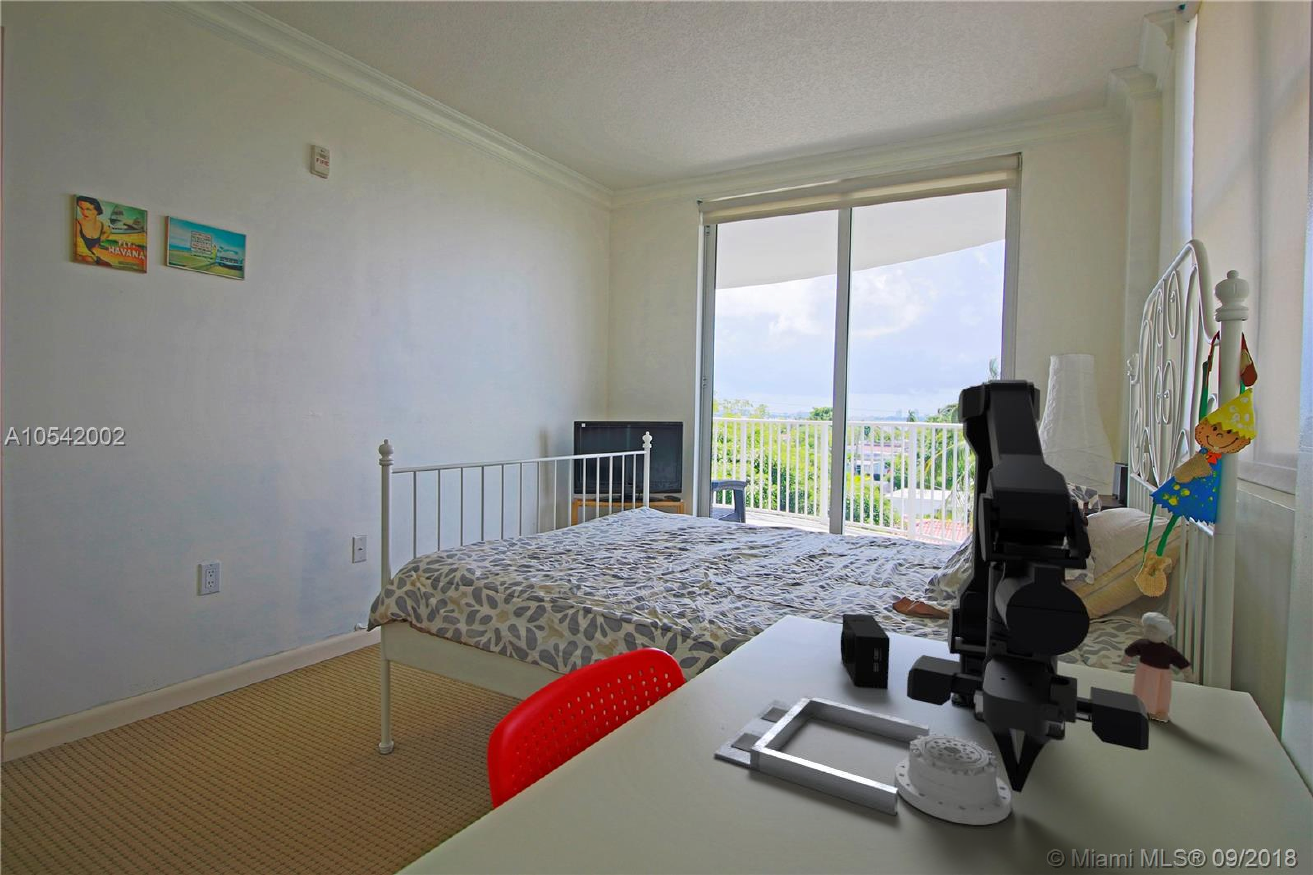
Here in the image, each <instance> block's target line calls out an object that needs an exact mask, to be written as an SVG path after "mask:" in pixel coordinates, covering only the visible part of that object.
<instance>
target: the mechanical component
mask: <svg viewBox="0 0 1313 875" xmlns="http://www.w3.org/2000/svg"><path fill="white" fill-rule="evenodd" d="M996 758H997V757H996V756H994V755H993V754H992V751H990V750H984V749H983V748H982V747H980V746H978V742H976V741H968V740H965V739H962V738H959V736H957V735H954V734H953V735H951V736H950V735H948V734H946V733H942V734H938V733H936V732H934V733H932V734H931V735H929V736H925V737H923V736H921V735H919V736H917V739H916V740H914V741H912V742H910V743H909V754H908V757H906V758H904V759H902V760H901V761H900V762H898V763H897V765H896V767H895V769H894V785H895V788H898V794H899V795H900V796H902V798H903V799H904V800H905V801H907V803H909V804H910V805H912V806H913V807H915V808H917V809H918V810H920V811H922V812H923V813H926V814H928V815H931V816H933V817H936V818H939V819H942V820H945V821H949V822H952V823H958V824H963V825H964V824H966V825H973V826H974V825H975V826H978V825H980V826H981V825H982V826H983V825H989V824H996V823H999V822H1000V821H1003V820H1004V819H1006V818H1007V817H1008V816H1009V815H1010V813H1011V811H1012V793H1011V792H1010V789H1009V787H1008V786H1007V785H1006V783H1004V781H1003V780H1002V779H1000V778H999V777H997V775H998V773H997V772H998V771H997V770H998V761H997V760H996Z"/></svg>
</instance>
